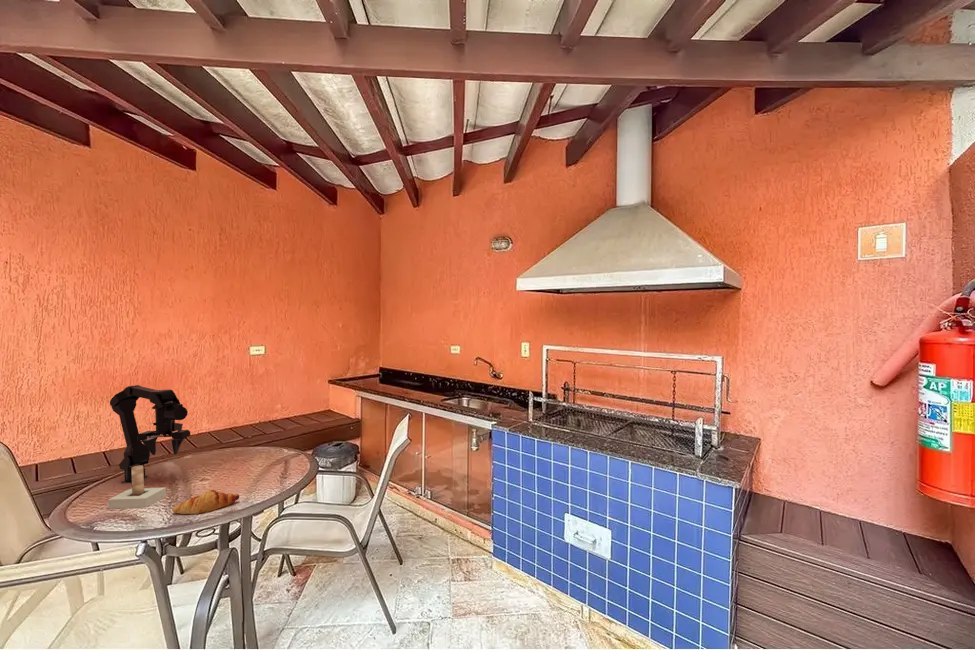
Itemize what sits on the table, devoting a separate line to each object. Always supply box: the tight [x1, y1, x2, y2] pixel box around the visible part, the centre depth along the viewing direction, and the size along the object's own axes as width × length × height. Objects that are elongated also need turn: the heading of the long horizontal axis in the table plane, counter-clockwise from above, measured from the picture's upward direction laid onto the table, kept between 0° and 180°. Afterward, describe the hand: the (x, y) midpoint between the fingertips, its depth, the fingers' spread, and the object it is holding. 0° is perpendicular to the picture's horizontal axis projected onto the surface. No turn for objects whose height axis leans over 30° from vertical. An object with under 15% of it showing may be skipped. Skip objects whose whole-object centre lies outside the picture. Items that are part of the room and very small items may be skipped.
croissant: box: [171, 489, 240, 515], centre depth 151 cm, size 21×10×8 cm, turn 116°
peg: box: [131, 465, 145, 496], centre depth 157 cm, size 4×4×14 cm
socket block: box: [107, 487, 167, 510], centre depth 157 cm, size 14×10×4 cm
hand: (164, 454), depth 175 cm, fingers open, 9 cm apart
